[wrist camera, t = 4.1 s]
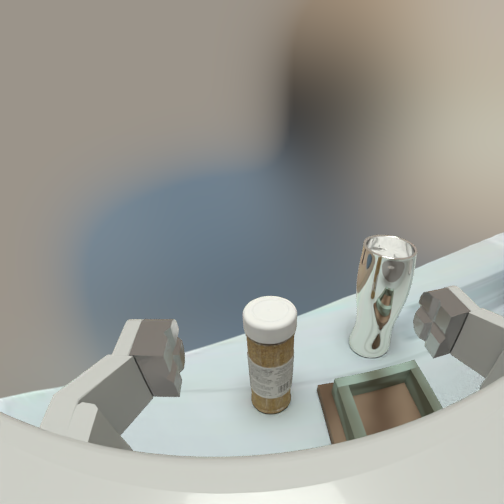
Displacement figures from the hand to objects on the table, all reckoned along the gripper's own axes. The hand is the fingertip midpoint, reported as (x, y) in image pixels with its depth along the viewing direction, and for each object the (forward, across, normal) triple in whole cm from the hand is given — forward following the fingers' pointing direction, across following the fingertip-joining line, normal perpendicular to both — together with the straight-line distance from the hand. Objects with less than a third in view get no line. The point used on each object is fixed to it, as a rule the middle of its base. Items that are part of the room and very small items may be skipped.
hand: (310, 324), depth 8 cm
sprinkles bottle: (+12, 0, +22) cm, 25 cm away
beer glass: (+19, -15, +22) cm, 33 cm away
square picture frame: (+6, -12, +22) cm, 26 cm away
